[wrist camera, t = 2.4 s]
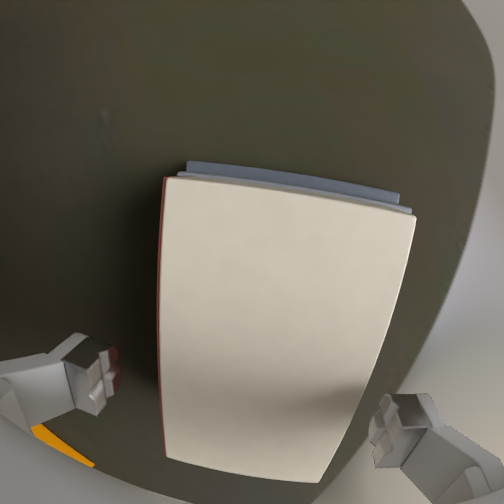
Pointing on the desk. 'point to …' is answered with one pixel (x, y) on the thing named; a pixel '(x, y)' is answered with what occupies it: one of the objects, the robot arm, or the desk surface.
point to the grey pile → (294, 182)
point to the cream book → (269, 320)
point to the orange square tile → (58, 444)
